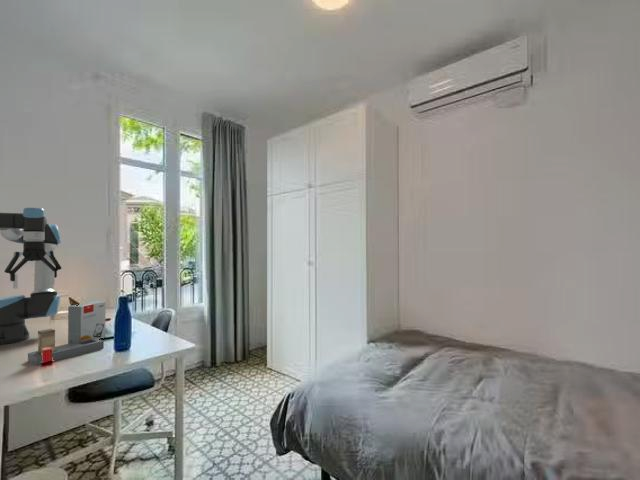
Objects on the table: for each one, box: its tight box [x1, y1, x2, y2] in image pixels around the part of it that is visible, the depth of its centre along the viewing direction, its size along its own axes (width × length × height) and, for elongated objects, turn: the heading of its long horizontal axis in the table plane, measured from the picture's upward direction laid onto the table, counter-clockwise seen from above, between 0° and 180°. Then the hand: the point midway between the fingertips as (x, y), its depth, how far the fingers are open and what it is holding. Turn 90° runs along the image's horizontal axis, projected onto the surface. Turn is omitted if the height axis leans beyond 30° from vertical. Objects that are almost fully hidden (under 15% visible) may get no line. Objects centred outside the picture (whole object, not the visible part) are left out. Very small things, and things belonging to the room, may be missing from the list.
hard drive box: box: [67, 300, 107, 344], centre depth 171 cm, size 16×8×20 cm, turn 168°
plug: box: [37, 328, 56, 355], centre depth 145 cm, size 5×5×13 cm
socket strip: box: [27, 338, 105, 366], centre depth 152 cm, size 10×26×4 cm, turn 148°
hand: (34, 286), depth 152 cm, fingers open, 13 cm apart
